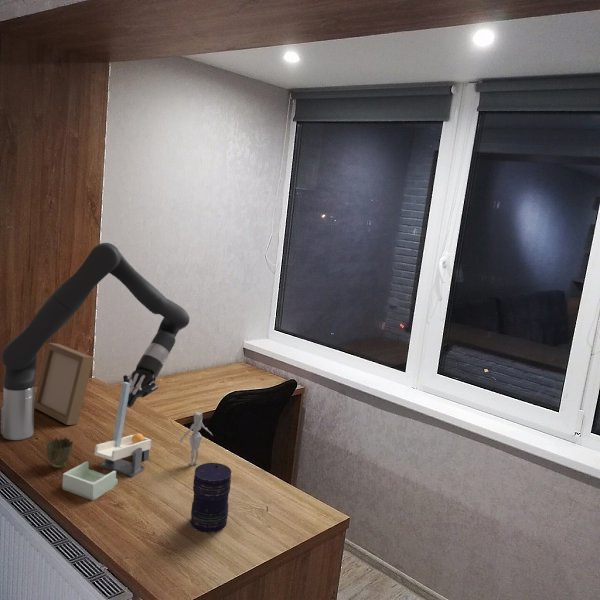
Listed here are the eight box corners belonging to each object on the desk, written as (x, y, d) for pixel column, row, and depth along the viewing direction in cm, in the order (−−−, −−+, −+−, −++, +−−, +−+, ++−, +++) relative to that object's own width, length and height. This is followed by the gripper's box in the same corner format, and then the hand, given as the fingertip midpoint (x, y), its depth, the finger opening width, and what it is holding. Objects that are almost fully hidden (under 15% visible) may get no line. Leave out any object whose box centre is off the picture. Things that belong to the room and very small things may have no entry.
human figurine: (207, 458, 188) (211, 407, 185) (213, 463, 185) (217, 411, 182) (174, 466, 180) (178, 413, 177) (180, 471, 177) (184, 418, 174)
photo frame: (66, 427, 200) (69, 359, 196) (32, 409, 212) (34, 345, 208) (102, 416, 212) (105, 352, 208) (68, 400, 224) (70, 339, 220)
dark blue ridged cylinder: (220, 536, 147) (225, 483, 144) (184, 529, 148) (188, 476, 145) (231, 516, 156) (236, 466, 154) (198, 509, 158) (202, 459, 155)
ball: (128, 443, 180) (131, 432, 180) (135, 442, 183) (138, 431, 183) (137, 446, 178) (140, 435, 179) (144, 445, 182) (147, 434, 182)
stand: (100, 466, 175) (101, 443, 174) (127, 451, 187) (128, 430, 186) (132, 477, 171) (133, 454, 170) (157, 461, 183) (158, 439, 181)
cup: (76, 468, 173) (77, 443, 171) (52, 475, 167) (52, 450, 166) (65, 459, 178) (66, 435, 176) (41, 465, 172) (42, 440, 171)
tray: (62, 489, 161) (62, 473, 160) (88, 474, 170) (88, 460, 169) (92, 500, 157) (93, 484, 156) (117, 485, 166) (118, 470, 165)
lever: (91, 454, 168) (103, 384, 168) (130, 442, 185) (140, 379, 185) (115, 462, 165) (127, 391, 165) (152, 449, 182) (163, 385, 181)
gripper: (132, 350, 186) (104, 395, 177) (165, 358, 182) (138, 405, 173) (141, 361, 192) (115, 406, 183) (174, 370, 187) (148, 416, 178)
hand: (126, 406), depth 178 cm, fingers closed
